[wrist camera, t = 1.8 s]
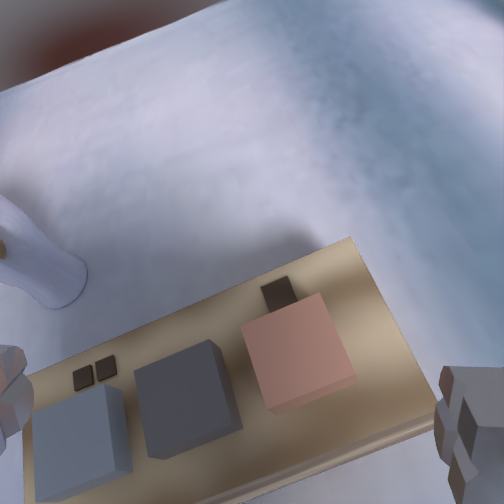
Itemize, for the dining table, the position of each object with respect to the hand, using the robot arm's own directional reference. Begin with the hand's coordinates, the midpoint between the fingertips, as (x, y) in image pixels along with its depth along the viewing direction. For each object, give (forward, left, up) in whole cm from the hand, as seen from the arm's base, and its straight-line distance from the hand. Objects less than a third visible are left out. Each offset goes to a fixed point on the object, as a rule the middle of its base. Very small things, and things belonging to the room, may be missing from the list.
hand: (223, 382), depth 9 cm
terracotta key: (+3, -4, -18) cm, 19 cm away
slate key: (+14, +4, -18) cm, 23 cm away
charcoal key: (+9, 0, -18) cm, 20 cm away
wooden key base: (+9, -1, -28) cm, 30 cm away
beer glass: (+34, -7, -28) cm, 44 cm away
